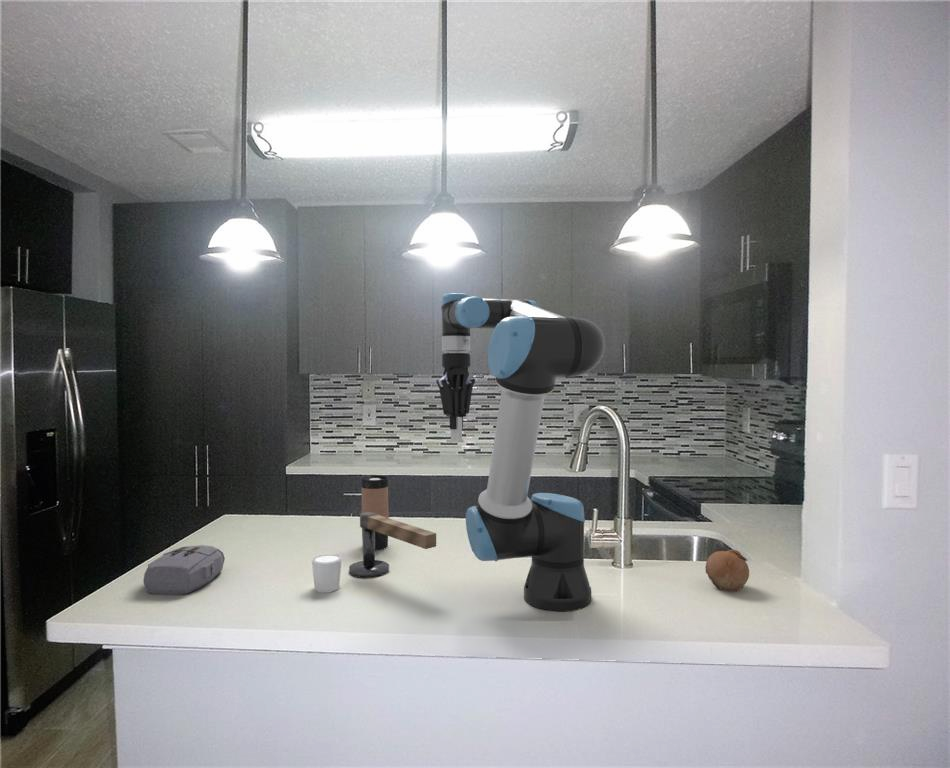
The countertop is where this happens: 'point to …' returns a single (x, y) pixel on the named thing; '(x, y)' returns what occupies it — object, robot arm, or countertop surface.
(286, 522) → the countertop surface
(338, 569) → the white cup
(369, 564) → the swing post
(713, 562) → the onion
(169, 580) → the soft grey pack
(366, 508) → the travel mug
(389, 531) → the swing arm
